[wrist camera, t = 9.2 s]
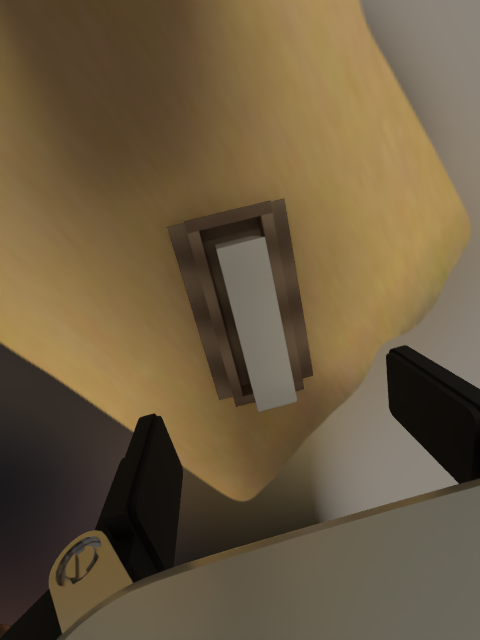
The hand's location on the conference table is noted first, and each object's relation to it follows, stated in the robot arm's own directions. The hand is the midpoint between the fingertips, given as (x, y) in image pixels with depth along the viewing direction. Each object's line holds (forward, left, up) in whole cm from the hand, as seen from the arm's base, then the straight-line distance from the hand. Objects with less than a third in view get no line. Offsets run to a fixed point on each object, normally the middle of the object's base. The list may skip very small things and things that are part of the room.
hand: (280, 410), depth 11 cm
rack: (+1, +1, -19) cm, 19 cm away
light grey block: (+1, +1, -18) cm, 18 cm away
